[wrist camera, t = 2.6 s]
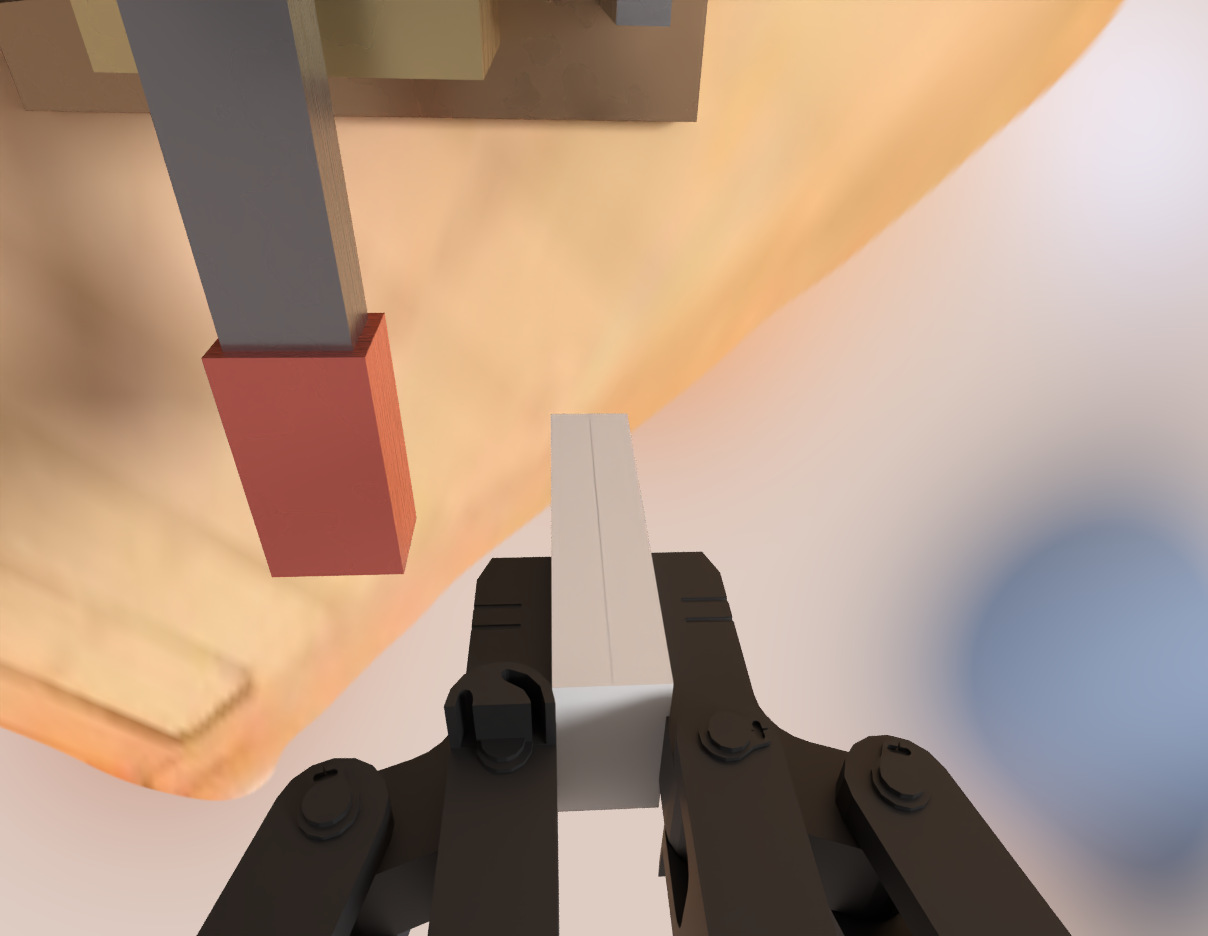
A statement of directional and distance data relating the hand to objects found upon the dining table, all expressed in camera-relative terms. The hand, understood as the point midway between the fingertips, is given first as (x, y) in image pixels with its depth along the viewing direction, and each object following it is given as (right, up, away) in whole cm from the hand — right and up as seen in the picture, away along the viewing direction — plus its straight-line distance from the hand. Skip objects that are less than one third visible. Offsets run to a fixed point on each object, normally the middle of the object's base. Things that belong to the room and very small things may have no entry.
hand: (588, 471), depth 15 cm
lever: (-6, +5, 0) cm, 8 cm away
